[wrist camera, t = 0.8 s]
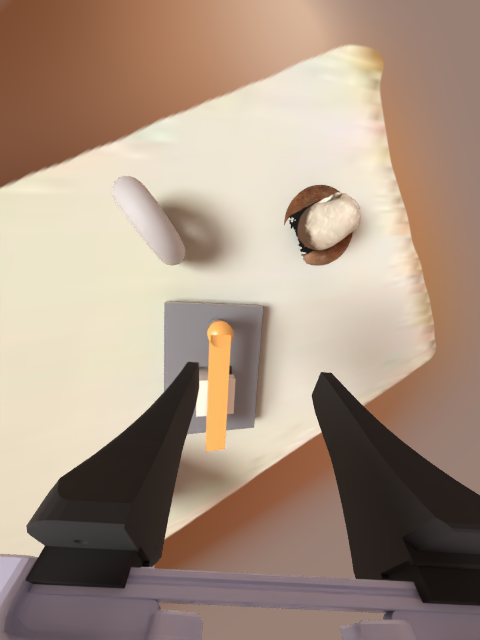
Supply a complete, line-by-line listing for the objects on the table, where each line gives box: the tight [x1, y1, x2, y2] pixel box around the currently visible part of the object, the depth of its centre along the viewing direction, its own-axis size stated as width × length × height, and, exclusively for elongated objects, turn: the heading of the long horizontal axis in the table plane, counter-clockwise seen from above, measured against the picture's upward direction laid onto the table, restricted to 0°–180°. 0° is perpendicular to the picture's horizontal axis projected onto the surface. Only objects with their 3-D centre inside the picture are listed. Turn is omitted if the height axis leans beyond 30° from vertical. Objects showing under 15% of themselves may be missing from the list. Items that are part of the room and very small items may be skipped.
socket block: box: [164, 301, 263, 434], centre depth 29 cm, size 20×14×7 cm
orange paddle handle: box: [205, 320, 234, 451], centre depth 25 cm, size 16×3×2 cm, turn 177°
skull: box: [284, 185, 360, 265], centre depth 31 cm, size 12×10×10 cm
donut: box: [112, 176, 186, 265], centre depth 23 cm, size 10×3×10 cm, turn 35°
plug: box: [196, 366, 236, 417], centre depth 30 cm, size 8×5×6 cm, turn 177°
